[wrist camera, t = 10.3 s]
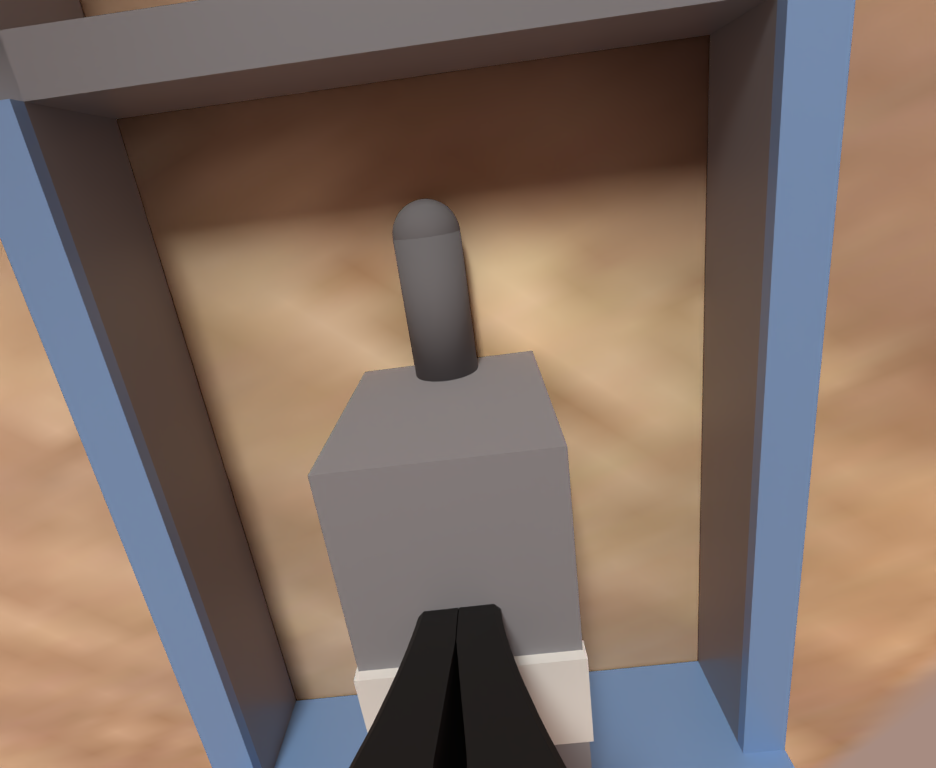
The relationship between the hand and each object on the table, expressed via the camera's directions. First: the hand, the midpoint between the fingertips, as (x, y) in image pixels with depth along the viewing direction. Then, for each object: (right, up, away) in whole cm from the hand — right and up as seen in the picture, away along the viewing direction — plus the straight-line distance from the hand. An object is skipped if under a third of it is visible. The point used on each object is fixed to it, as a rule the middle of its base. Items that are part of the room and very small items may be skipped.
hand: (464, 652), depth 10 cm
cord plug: (0, +4, +4) cm, 5 cm away
